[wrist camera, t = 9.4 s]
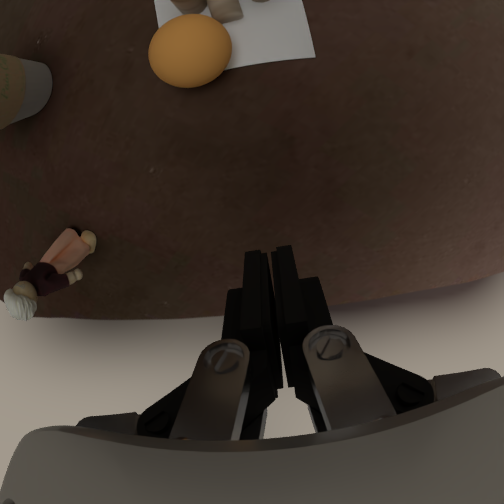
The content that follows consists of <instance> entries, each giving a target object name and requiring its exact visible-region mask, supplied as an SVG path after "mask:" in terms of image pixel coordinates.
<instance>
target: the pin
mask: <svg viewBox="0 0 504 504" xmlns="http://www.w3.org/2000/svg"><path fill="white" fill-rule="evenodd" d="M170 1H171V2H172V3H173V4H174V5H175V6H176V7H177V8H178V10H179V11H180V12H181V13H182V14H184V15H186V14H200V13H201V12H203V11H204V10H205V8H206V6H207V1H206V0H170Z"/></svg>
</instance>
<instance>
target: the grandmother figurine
mask: <svg viewBox="0 0 504 504" xmlns="http://www.w3.org/2000/svg"><path fill="white" fill-rule="evenodd" d="M95 246H96V236H95V234H94V233H93V232H91V231H88V230H85V231H83V232H82V234H81V237H79V236H78V234H77V233H76V231H74V230H73V229H70V228H68V229H66V230H65V231H64V232H63V233H62V234H61V235H60V236H59V237H58V238H57V239H56V241H55V242H54V243H53V244H52V246H51V247H50V249H49V250H48V251H47V252H46V253H45V255H44V256H43V258H42V259H41V261H40V262H39V263H37V264H36V266H34V267H33V265H32V264H31V263H30V262H27V263H25V265H24V268H23V270H22V271H21V273H20V278H19V279H20V282H18V283H17V284H16V285H15V286H14V287H13V289H9V290H6V292H5V294H4V302H5V304H6V308H7V310H8V311H9V312H10V315H11V316H12V317H13V318H16V319H18V320H25V321H27V320H29V319H30V318H32V317H33V315H34V312H35V311H36V309H37V305H36V302H37V296H46V295H48V294H49V293H52V292H55V291H58V290H60V289H63V288H66V287H68V286H69V285H70V284H72V283H74V282H75V281H76V280H80V279H81V278H82V277H83V272H82V271H81V270H80V269H75V270H74V271H73V272H69V273H67V274H63V273H64V272H66V271H68V270H70V269H72V268H74V267H75V266H76V265H78V264H79V263H80V262H81V261H82V260H83V259H84V258H85V257H86V256H87V255H88V254H89V253H93V252H94V251H95Z"/></svg>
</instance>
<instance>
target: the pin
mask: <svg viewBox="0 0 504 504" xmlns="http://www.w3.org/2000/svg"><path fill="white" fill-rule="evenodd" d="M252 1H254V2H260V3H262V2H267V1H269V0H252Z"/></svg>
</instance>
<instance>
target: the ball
mask: <svg viewBox="0 0 504 504" xmlns="http://www.w3.org/2000/svg"><path fill="white" fill-rule="evenodd" d="M231 54H232V42H231V38H230V35H229V33H228V31H227V30H226V28H225V27H224V26H223V25H222V24H221V23H220V22H218V21H217V20H215V19H214V18H211V17H209V16H206V15H202V14H186V15H181V16H178V17H175V18H173V19H171V20H169V21H168V22H166V23H165V24H164V25H162V26H161V27H160V28H159V29H158V30H157V32H156V33H155V34H154V36H153V38H152V40H151V43H150V46H149V62H150V65H151V67H152V69H153V71H154V72H155V74H156V75H157V76H158V77H159V78H160V79H161V80H163V81H164V82H166V83H168V84H170V85H173V86H176V87H181V88H192V87H198V86H202V85H204V84H207V83H209V82H211V81H212V80H214V79H215V78H217V77H218V76H219V75H220V74H221V73H222V72H223V71H224V69H225V68H226V67H227V65H228V63H229V61H230V58H231Z"/></svg>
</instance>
